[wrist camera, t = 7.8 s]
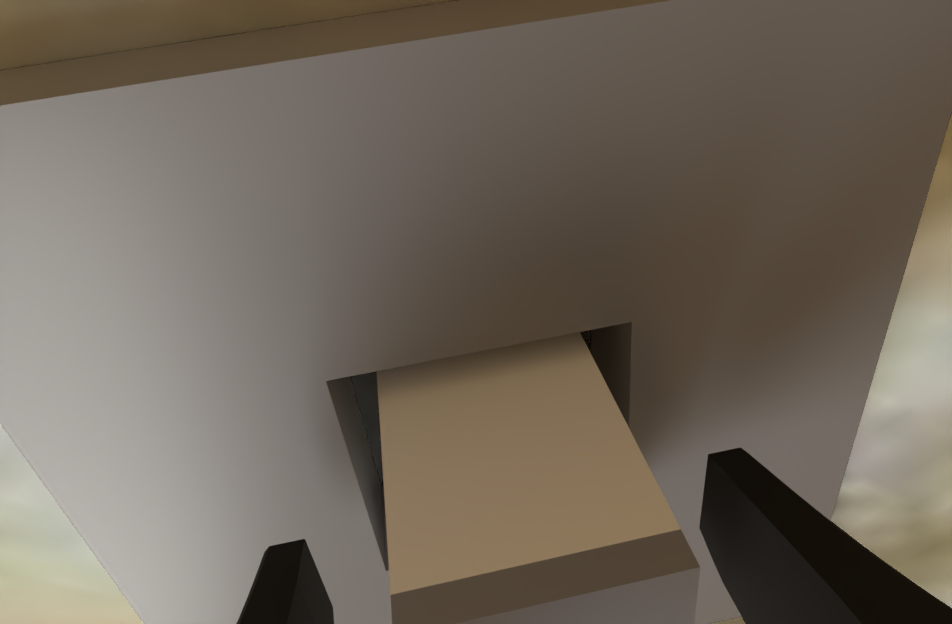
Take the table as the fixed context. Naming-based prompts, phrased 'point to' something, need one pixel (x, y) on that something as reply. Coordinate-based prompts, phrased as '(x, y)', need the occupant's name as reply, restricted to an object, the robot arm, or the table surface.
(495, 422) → the plug
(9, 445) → the table surface
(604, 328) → the socket block
